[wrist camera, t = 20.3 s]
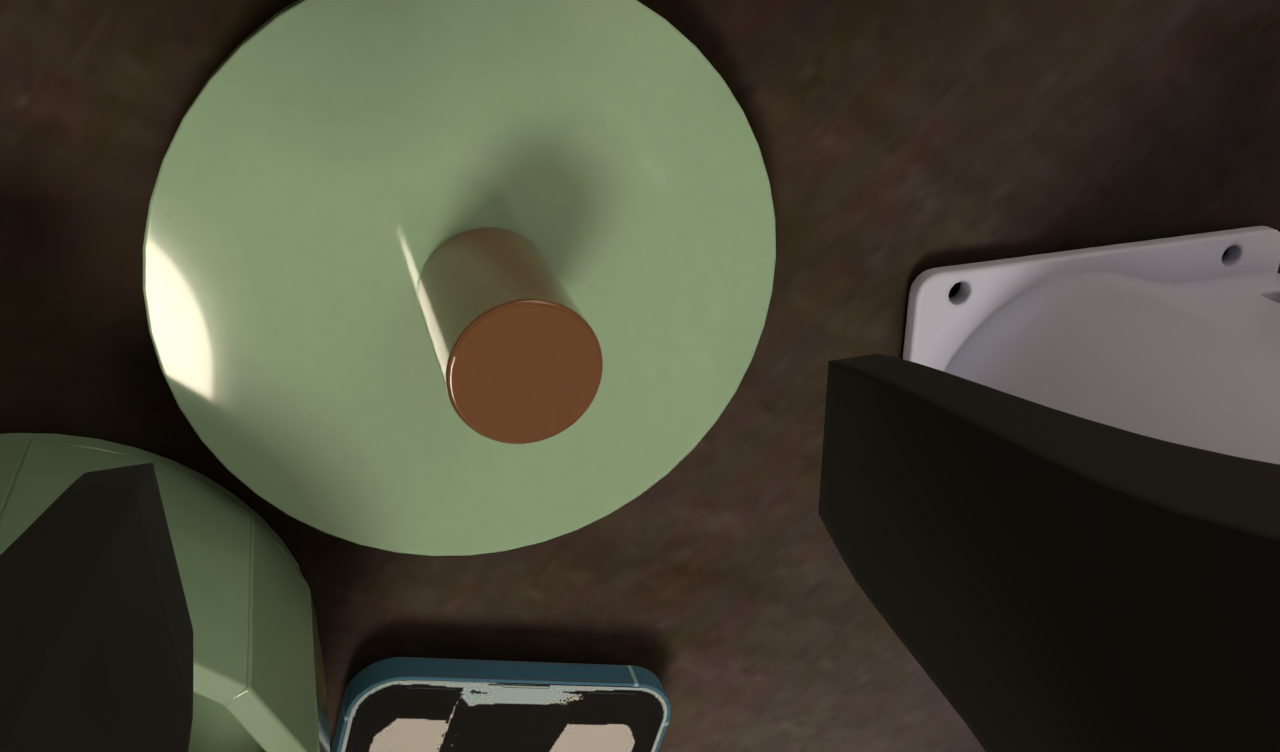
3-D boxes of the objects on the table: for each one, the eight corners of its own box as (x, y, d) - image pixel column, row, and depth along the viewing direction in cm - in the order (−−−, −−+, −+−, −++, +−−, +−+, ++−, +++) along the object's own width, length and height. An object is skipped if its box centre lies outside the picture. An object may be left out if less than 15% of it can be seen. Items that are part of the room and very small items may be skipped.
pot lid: (765, -64, 19) (895, -40, 15) (746, 478, 24) (842, 604, 20) (77, -36, 17) (16, 3, 13) (213, 572, 22) (201, 740, 18)
